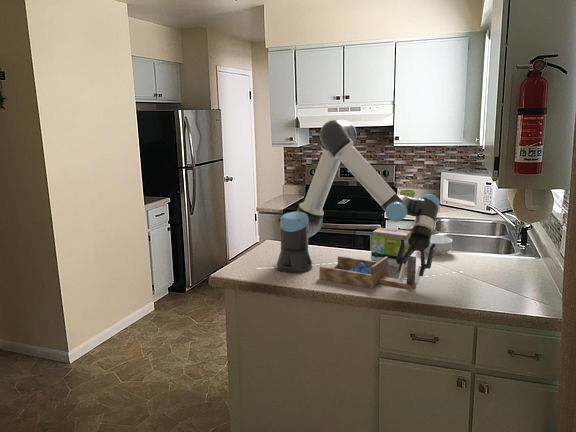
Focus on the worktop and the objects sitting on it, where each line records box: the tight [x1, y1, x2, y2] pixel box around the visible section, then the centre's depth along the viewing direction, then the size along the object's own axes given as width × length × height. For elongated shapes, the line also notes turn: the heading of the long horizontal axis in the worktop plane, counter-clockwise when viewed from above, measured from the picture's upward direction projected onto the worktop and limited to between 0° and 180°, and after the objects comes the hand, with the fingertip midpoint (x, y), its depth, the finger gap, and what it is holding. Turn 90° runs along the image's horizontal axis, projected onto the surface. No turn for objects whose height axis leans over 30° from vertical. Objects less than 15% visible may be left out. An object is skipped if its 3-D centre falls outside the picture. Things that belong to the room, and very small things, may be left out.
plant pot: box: [398, 189, 417, 198], centre depth 354 cm, size 12×12×11 cm
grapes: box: [348, 262, 371, 274], centre depth 195 cm, size 12×7×12 cm
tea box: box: [370, 227, 412, 268], centre depth 214 cm, size 15×10×15 cm, turn 62°
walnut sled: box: [318, 255, 417, 290], centre depth 192 cm, size 36×18×12 cm, turn 59°
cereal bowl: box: [425, 234, 453, 256], centre depth 231 cm, size 17×17×7 cm
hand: (408, 281), depth 181 cm, fingers open, 5 cm apart
